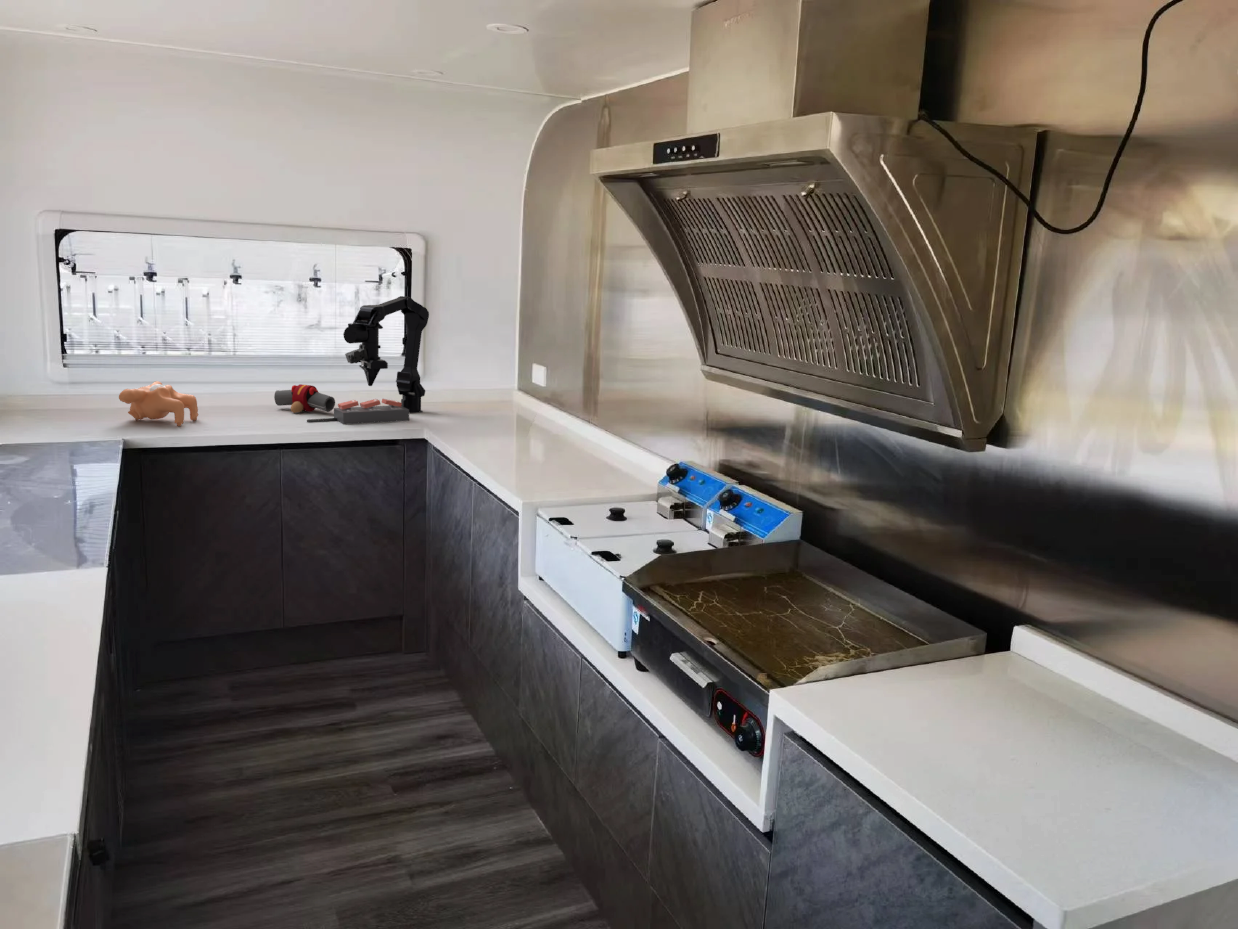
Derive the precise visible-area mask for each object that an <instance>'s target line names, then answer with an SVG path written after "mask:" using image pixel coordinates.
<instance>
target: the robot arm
mask: <svg viewBox="0 0 1238 929" xmlns="http://www.w3.org/2000/svg"><path fill="white" fill-rule="evenodd" d="M397 312H401V314H403V315H404V316H405V319H404V322H405V325H406V327H407V329H408V330H407V338H406V346H405V355H404V362H403V368H402V369H401V371H397V373H396V379H395V383H396V388H397V391H398V395H400V396H401V400H400V403H402V405H401V406H402V407H404V408H407V409H409V414H413V413H423V410H422V398H423V397H425V394H426V389H425V387H424V386H422V384H421V376H420V373H419V371H418V364H419V357H420V349H421V348H420V347H421V341H422V332H423V330H424V329H425V328H426V327H427V325H428V320H429V316H430V313H429V310H428V309H427V307H425V306H423V305H422V304H420V303H418V302H417V301H415V300H414V299H413V298H411V297H410V296H398V297H396V298H393V299H391V300H388V301H385V302H381V303H379V304H364V305H361V306H360V307H359V311H358V312H357V314H356V316H355V318H354V320H353V322H351V323H347V327H346V328H345V329H344V331H343V334H342V335H343V339H344V341H345V342H346V343H348V344H351V345H352V344H359V345H358V349H354V350H351V351H349V352H346V353H344V356H345V358H346V360H347V363H349V364H350V365H351V364H358V363H360V364H359V365H358V367H359V368H361V369H362V370H363V371H364V374H365V375H364V376H365V378H366V382H367V385H368V386H369V387H372V386H373V385H374V383H375V381H376V378H377V376H378V375H379V372H381V370H383V369H384V370H387V369H388V368H389V364H388V362H387V361H386V360H385V359H381V356H379V349H381V345H380V344H379V343H380V342H379V337H380V336H379V332H380V331H379V330H382V329H384V327H383V325H381V324H380V322H381V321H383V320H384V319H386V318H385V317H386V316H388V315H391V314H393V313H397Z"/></svg>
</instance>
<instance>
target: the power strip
mask: <svg viewBox="0 0 1238 929" xmlns="http://www.w3.org/2000/svg"><path fill="white" fill-rule="evenodd" d="M335 421H337V422H339V423H340V424H343V425H349V424H350V425H353V424H368V423H371V424H372V423H386V422H387V423H389V422H390V421H392V422H404V421H405V422H407V421H408V422H409V421H410V413H409V409H407V408H404V407H402V406H401V407H399V406H393V405H376V406H373V407H369V408H365V409H364V408H362V407H361V406H354V407H351V408H347V409H343V410H342V409H340V408H339V407H334V408H333V417H326V418H309V419H306V423H317V422H335ZM388 421H389V422H388Z"/></svg>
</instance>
